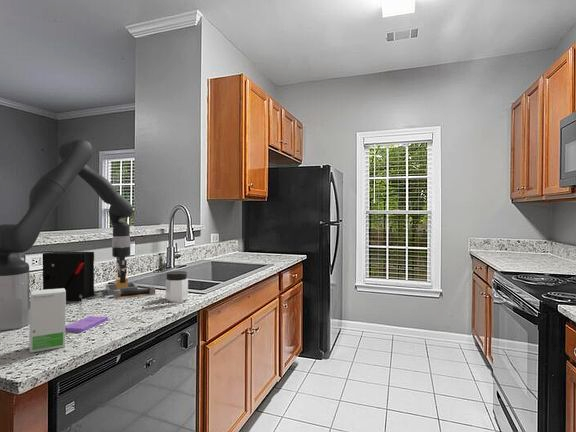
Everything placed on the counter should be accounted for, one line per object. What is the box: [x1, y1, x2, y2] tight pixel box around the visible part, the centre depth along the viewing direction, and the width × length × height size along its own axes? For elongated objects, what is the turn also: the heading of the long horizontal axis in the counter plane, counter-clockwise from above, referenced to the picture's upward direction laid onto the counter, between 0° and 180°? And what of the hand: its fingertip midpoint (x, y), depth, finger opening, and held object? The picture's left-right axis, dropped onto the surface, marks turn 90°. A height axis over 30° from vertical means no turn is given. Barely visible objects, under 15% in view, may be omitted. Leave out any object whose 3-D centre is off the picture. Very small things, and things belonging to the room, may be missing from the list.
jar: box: [165, 270, 189, 305], centre depth 147 cm, size 9×8×12 cm
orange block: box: [115, 276, 129, 289], centre depth 161 cm, size 6×4×6 cm
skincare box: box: [28, 288, 67, 354], centre depth 98 cm, size 8×7×16 cm
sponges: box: [65, 315, 109, 333], centre depth 116 cm, size 7×13×2 cm, turn 172°
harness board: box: [112, 285, 157, 300], centre depth 153 cm, size 16×10×4 cm, turn 122°
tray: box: [105, 281, 139, 296], centre depth 161 cm, size 12×12×3 cm
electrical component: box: [42, 250, 96, 302], centre depth 150 cm, size 18×10×20 cm, turn 84°
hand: (121, 281), depth 161 cm, fingers open, 8 cm apart
